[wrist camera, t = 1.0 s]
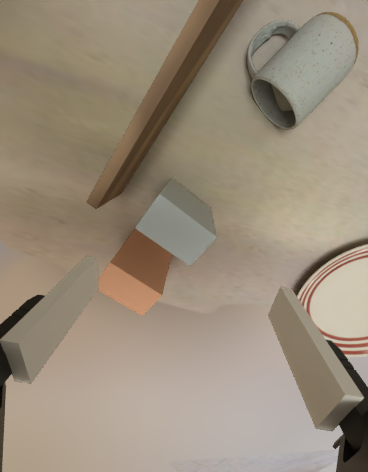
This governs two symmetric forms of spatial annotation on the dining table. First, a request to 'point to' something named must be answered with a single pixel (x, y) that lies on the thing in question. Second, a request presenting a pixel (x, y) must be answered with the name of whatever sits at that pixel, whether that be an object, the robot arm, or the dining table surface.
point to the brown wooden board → (164, 95)
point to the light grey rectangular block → (179, 223)
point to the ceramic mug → (302, 66)
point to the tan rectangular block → (136, 273)
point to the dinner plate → (341, 301)
